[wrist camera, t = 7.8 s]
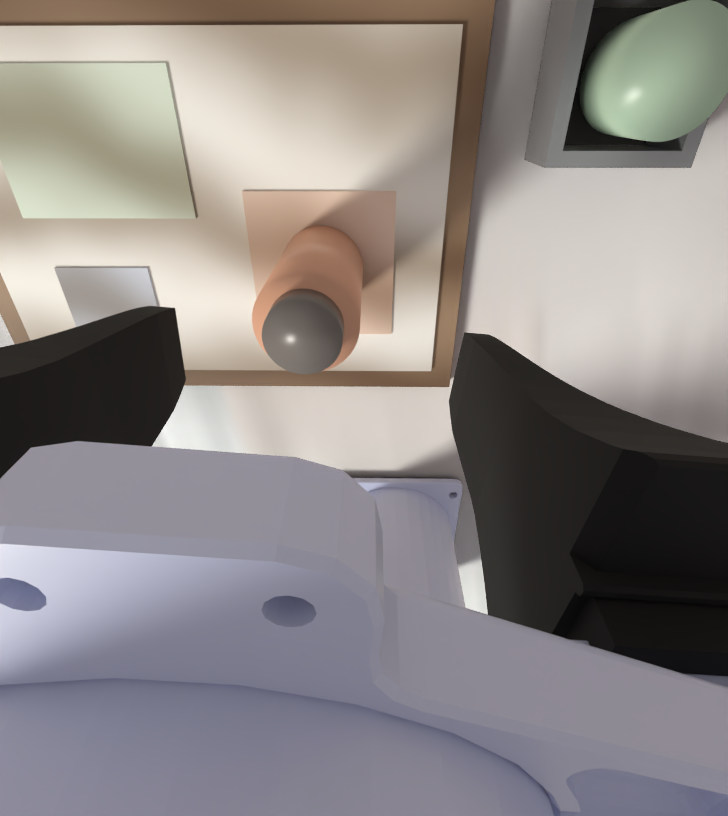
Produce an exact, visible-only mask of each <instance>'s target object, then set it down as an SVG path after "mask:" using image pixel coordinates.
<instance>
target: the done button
mask: <svg viewBox="0 0 728 816" xmlns="http://www.w3.org/2000/svg"><path fill="white" fill-rule="evenodd" d="M727 93H728V9H727V8H726V7H725V6H723V5H722V4H720V3H718V2H716V1H712V0H689V1H685V2H682V3H679V4H675V5H672V6H669V7H666V8H662V9H659V10H656V11H653V12H650V13H646V14H643V15H640V16H637V17H634V18H631V19H628V20H626V21H624V22H622V23H620V24H619V25H617V26H616V27H614V28H613V29H612V30H611V31H610V32H608V33H607V34H606V35H605V36H604V37H603V38H602V39H601V41H600V42H599V43H598V44H597V46H596V47H595V48H594V50H593V52H592V53H591V55H590V57H589V59H588V61H587V63H586V65H585V68H584V71H583V74H582V78H581V84H580V104H581V109H582V112H583V114H584V116H585V118H586V120H587V121H588V123H589V124H590V125H591V126H592V127H593V128H594V129H595V130H597V131H598V132H601V133H603V134H606V135H611V136H617V137H624V138H631V139H637V140H644V141H650V142H664V141H669V140H673V139H676V138H679V137H681V136H683V135H685V134H687V133H689V132H690V131H692V130H694V129H695V128H696V127H698V126H699V125H700V124H702V123H703V122H704V121H705V120H706V119H707V118H708V117H709V116H710V115H711V114H712V113H713V112H714V111H715V110H716V109H717V107H718V106H719V105H720V103H721V102H722V101H723V99H724V97H725V96H726V94H727Z"/></svg>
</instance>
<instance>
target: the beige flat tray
mask: <svg viewBox="0 0 728 816" xmlns="http://www.w3.org/2000/svg"><path fill="white" fill-rule="evenodd" d="M494 7H495V0H0V314H1V316H2V318H3V320H4V322H5V324H6V326H7V328H8V331H9V333H10V335H11V337H12V339H13V341H14V343H15V344H19V343H23V342H27V341H31V340H34V339H38V338H41V337H45V336H48V335H51V334H55V333H58V332H61V331H65V330H68V329H71V328H75V327H78V326H81V325H84V324H87V323H90V322H93V321H96V320H99V319H102V318H105V317H108V316H112V315H115V314H118V313H121V312H124V311H128V310H131V309H135V308H139V307H145V306H158V307H170V308H175V311H176V317H177V324H178V330H179V337H180V343H181V350H182V357H183V363H184V370H185V376H186V381H185V384H184V385H218V386H381V387H449V384H450V376H451V367H452V359H453V351H454V342H455V334H456V325H457V317H458V309H459V300H460V292H461V284H462V275H463V267H464V258H465V250H466V242H467V233H468V225H469V216H470V208H471V200H472V191H473V183H474V175H475V166H476V158H477V149H478V141H479V133H480V124H481V116H482V107H483V99H484V91H485V82H486V74H487V65H488V57H489V49H490V40H491V32H492V24H493V15H494ZM319 225H321V226H330V227H333V228H336V229H338V230H341V231H342V232H344V233H345V234H347V235H348V236H349V237H350V238H351V239H352V240H353V241H354V243H355V244H356V245H357V247H358V249H359V251H360V254H361V256H362V261H363V281H362V300H361V319H360V333H359V338H358V341H357V344H356V346H355V348H354V349H353V351H352V353H351V354H350V355H349V356H348V357H347V358H346V359H345V360H344V361H343V362H342V363H340V364H339V365H337V366H335V367H333V368H331V369H328V370H325V371H321V372H318V373H314V374H296V373H292V372H290V371H287V370H285V369H283V368H281V367H280V366H278V365H277V364H276V363H275V362H274V361H273V360H272V359H271V358H270V357H269V356H268V355H267V354H266V352H265V351H264V350H263V349H262V347H261V346H260V344H259V343H258V341H257V339H256V336H255V334H254V330H253V325H252V312H253V307H254V304H255V301H256V299H257V297H258V295H259V293H260V291H261V290H262V288H263V286H264V284H265V283H266V281H267V279H268V278H269V276H270V274H271V272H272V271H273V269H274V267H275V266H276V264H277V262H278V260H279V259H280V257H281V255H282V253H283V252H284V250H285V248H286V247H287V245H288V243H289V242H290V240H291V239H292V238H293V237H294V236H295V235H296V234H297V233H298V232H300V231H302V230H303V229H306V228H308V227H312V226H319Z"/></svg>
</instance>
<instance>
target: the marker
mask: <svg viewBox="0 0 728 816" xmlns="http://www.w3.org/2000/svg"><path fill="white" fill-rule="evenodd" d="M362 281H363V261H362V256H361V254H360V251H359V249H358V247H357V245H356V244H355V243H354V241H353V240H352V239H351V238H350V237H349V236H348V235H347V234H345V233H344V232H342V231H341V230H338V229H336V228H333V227H330V226H321V225H319V226H312V227H308V228H306V229H303V230H302V231H300V232H298V233H297V234H296V235H295V236H294V237H293V238H292V239H291V240H290V242H289V243H288V245H287V247H286V248H285V250H284V252H283V253H282V255H281V257H280V259H279V260H278V262H277V264H276V266H275V267H274V269H273V271H272V272H271V274H270V276H269V278H268V279H267V281H266V283H265V284H264V286H263V288H262V290H261V291H260V293H259V295H258V297H257V299H256V301H255V304H254V307H253V312H252V325H253V330H254V334H255V336H256V339H257V341H258V343H259V344H260V346H261V347H262V349H263V350H264V351H265V352H266V354H267V355H268V356H269V357H270V358H271V359H272V360H273V361H274V362H275V363H276V364H277V365H278V366H280V367H281V368H283V369H285V370H287V371H290V372H292V373H296V374H314V373H318V372H321V371H325V370H328V369H331V368H333V367H335V366H337V365H339V364H340V363H342V362H343V361H344V360H345V359H346V358H347V357H348V356H349V355H350V354H351V353H352V351H353V349H354V348H355V346H356V344H357V341H358V338H359V333H360V319H361V300H362Z"/></svg>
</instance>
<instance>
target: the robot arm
mask: <svg viewBox="0 0 728 816" xmlns="http://www.w3.org/2000/svg"><path fill="white" fill-rule="evenodd" d="M185 381H186V376H185V370H184V363H183V357H182V350H181V343H180V337H179V330H178V324H177V317H176V311H175V308H170V307H158V306H145V307H139V308H135V309H131V310H128V311H124V312H121V313H118V314H115V315H112V316H108V317H105V318H102V319H99V320H96V321H93V322H90V323H87V324H84V325H81V326H78V327H75V328H71V329H68V330H65V331H61V332H58V333H55V334H51V335H48V336H45V337H41V338H38V339H34V340H31V341H27V342H23V343H19V344H15V345H10V346H6V347H1V348H0V816H728V443H725V442H721V441H716V440H712V439H709V438H705V437H702V436H698V435H695V434H691V433H688V432H685V431H681V430H678V429H674V428H671V427H668V426H665V425H662V424H659V423H656V422H653V421H650V420H648V419H645V418H642V417H640V416H637V415H635V414H632V413H629V412H627V411H624V410H621V409H619V408H617V407H614V406H612V405H610V404H607V403H605V402H603V401H601V400H599V399H597V398H595V397H593V396H590V395H588V394H586V393H584V392H582V391H580V390H578V389H576V388H575V387H573V386H571V385H569V384H567V383H566V382H564V381H562V380H561V379H559V378H557V377H555V376H554V375H552V374H550V373H549V372H547V371H546V370H544V369H542V368H541V367H539V366H538V365H536V364H535V363H533V362H532V361H530V360H529V359H527V358H526V357H524V356H523V355H521V354H520V353H518V352H517V351H515V350H514V349H512V348H511V347H509V346H508V345H506V344H505V343H503V342H502V341H500V340H498V339H497V338H495V337H493V336H491V335H486V334H475V333H464V337H463V341H462V346H461V350H460V354H459V359H458V363H457V368H456V372H455V376H454V381H453V385H452V390H451V394H450V399H449V406H450V415H451V424H452V431H453V435H454V439H455V443H456V446H457V450H458V454H459V457H460V461H461V464H462V468H463V471H464V475H465V478H466V482H467V485H468V489H469V492H470V496H471V500H472V504H473V508H474V513H475V519H476V525H477V531H478V538H479V544H480V551H481V559H482V567H483V574H484V582H485V590H486V600H487V609H488V615H487V614H483V613H480V612H477V611H473V610H470V609H467V608H465V603H464V597H463V592H462V586H461V581H460V575H459V570H458V564H457V559H456V554H455V548H454V538H455V532H456V526H457V520H458V514H459V507H460V501H461V495H462V483H461V482H460V481H459V480H458V479H415V478H351V477H350V476H349V475H348V474H347V473H346V472H345V471H343V470H339V469H336V468H332V467H329V466H325V465H321V464H318V463H314V462H311V461H307V460H303V459H300V458H296V457H285V456H271V455H258V454H244V453H231V452H217V451H204V450H191V449H177V448H164V447H151V446H152V445H153V443H154V441H155V440H156V438H157V437H158V435H159V434H160V432H161V430H162V429H163V427H164V425H165V424H166V422H167V421H168V419H169V417H170V416H171V414H172V412H173V411H174V409H175V406H176V404H177V402H178V399H179V397H180V394H181V392H182V389H183V386H184V384H185ZM452 492H455V493H454V494H450V493H452Z"/></svg>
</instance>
